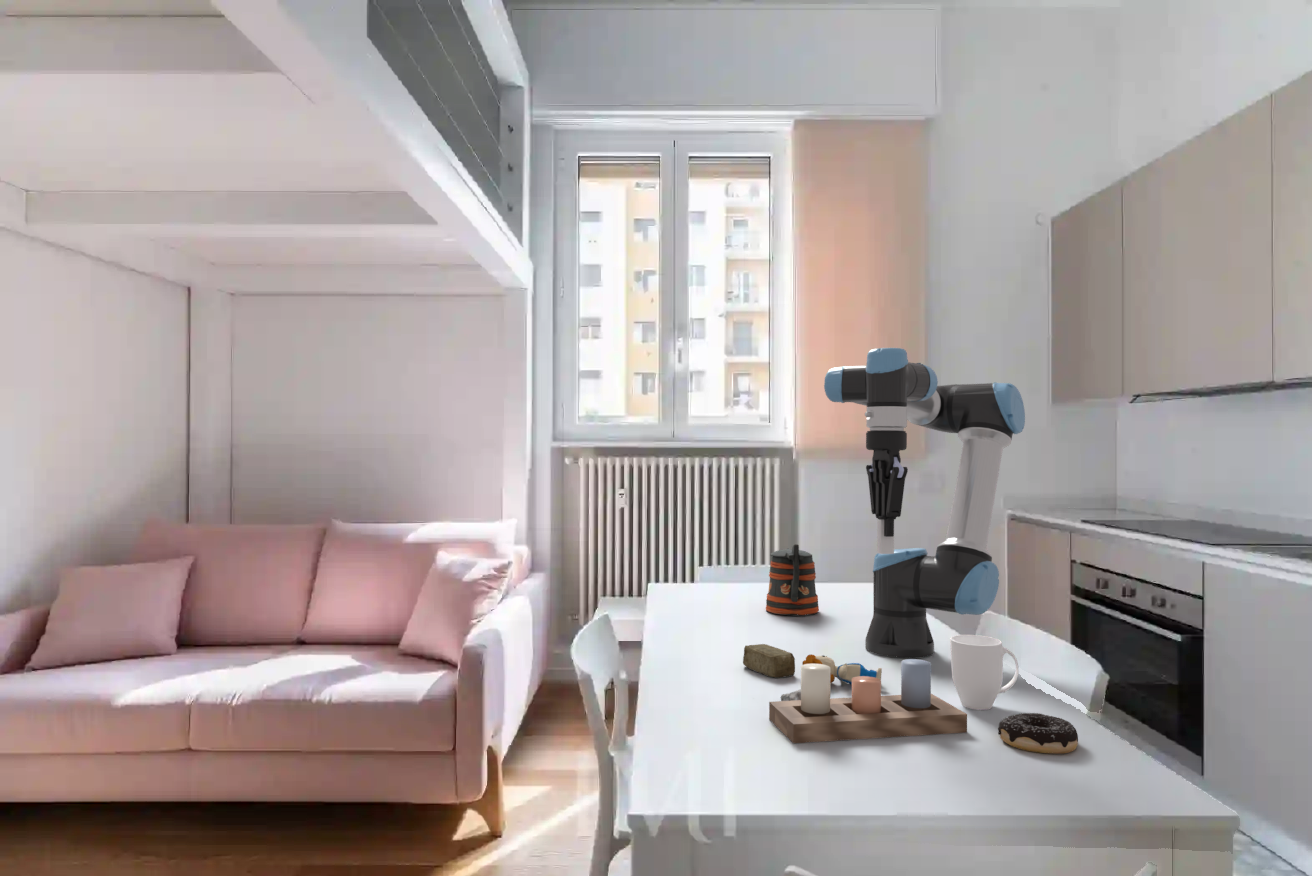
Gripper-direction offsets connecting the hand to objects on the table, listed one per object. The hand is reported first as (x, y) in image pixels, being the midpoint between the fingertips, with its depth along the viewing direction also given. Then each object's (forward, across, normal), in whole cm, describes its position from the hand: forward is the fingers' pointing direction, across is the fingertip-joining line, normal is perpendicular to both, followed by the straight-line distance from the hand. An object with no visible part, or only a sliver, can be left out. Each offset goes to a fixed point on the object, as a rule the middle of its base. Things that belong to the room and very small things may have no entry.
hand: (885, 553), depth 167 cm
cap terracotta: (+26, +18, -12) cm, 34 cm away
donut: (+27, +30, +11) cm, 42 cm away
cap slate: (+23, +18, -3) cm, 30 cm away
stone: (+27, +6, -20) cm, 34 cm away
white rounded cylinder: (+23, +18, -21) cm, 36 cm away
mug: (+27, +11, +14) cm, 32 cm away
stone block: (+27, -18, -17) cm, 37 cm away
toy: (+27, -6, -6) cm, 28 cm away
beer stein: (+27, -75, +9) cm, 80 cm away
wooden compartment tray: (+26, +18, -12) cm, 34 cm away
